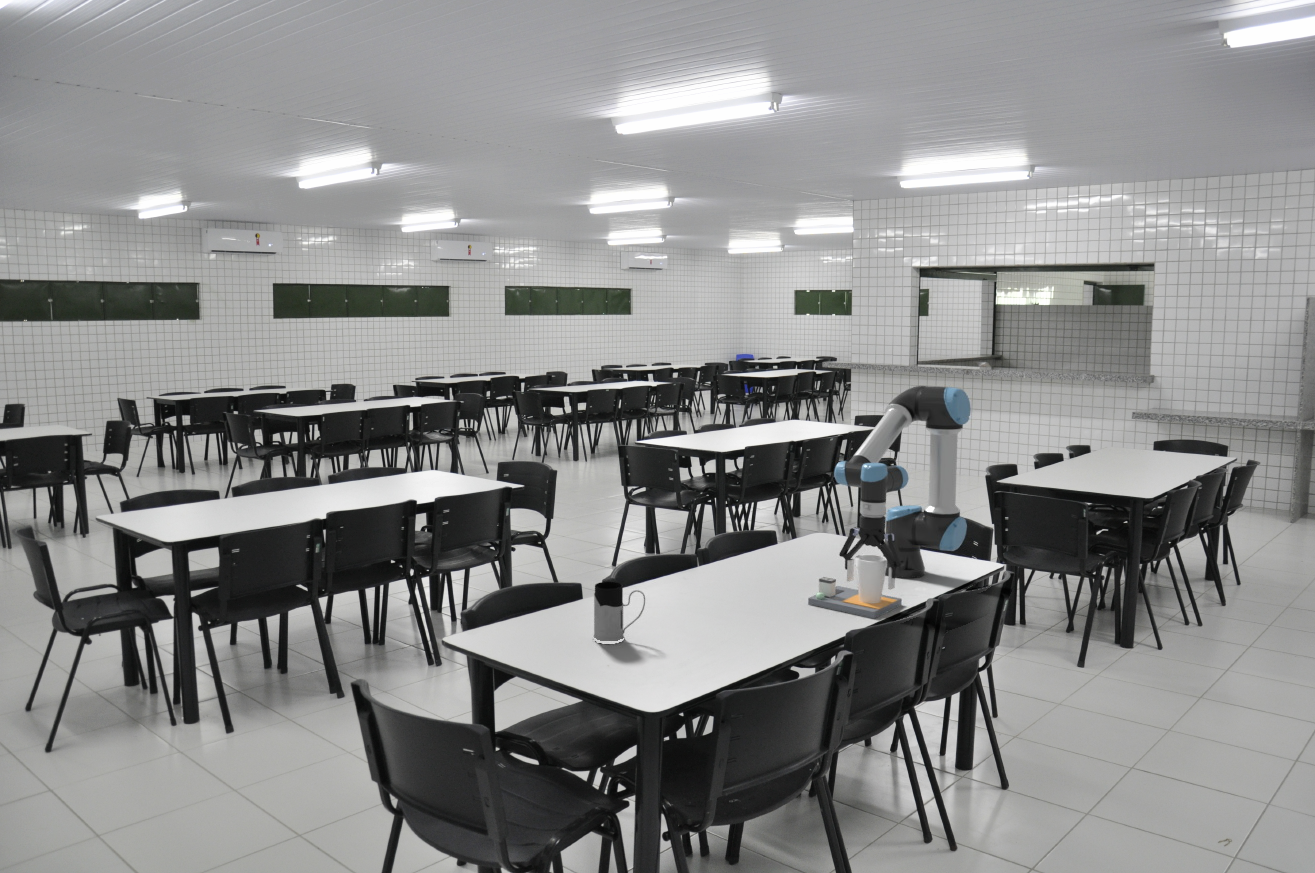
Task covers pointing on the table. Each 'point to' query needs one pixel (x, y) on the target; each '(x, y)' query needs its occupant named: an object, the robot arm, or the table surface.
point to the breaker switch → (827, 586)
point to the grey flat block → (854, 603)
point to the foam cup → (870, 577)
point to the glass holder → (610, 611)
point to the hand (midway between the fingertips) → (870, 584)
